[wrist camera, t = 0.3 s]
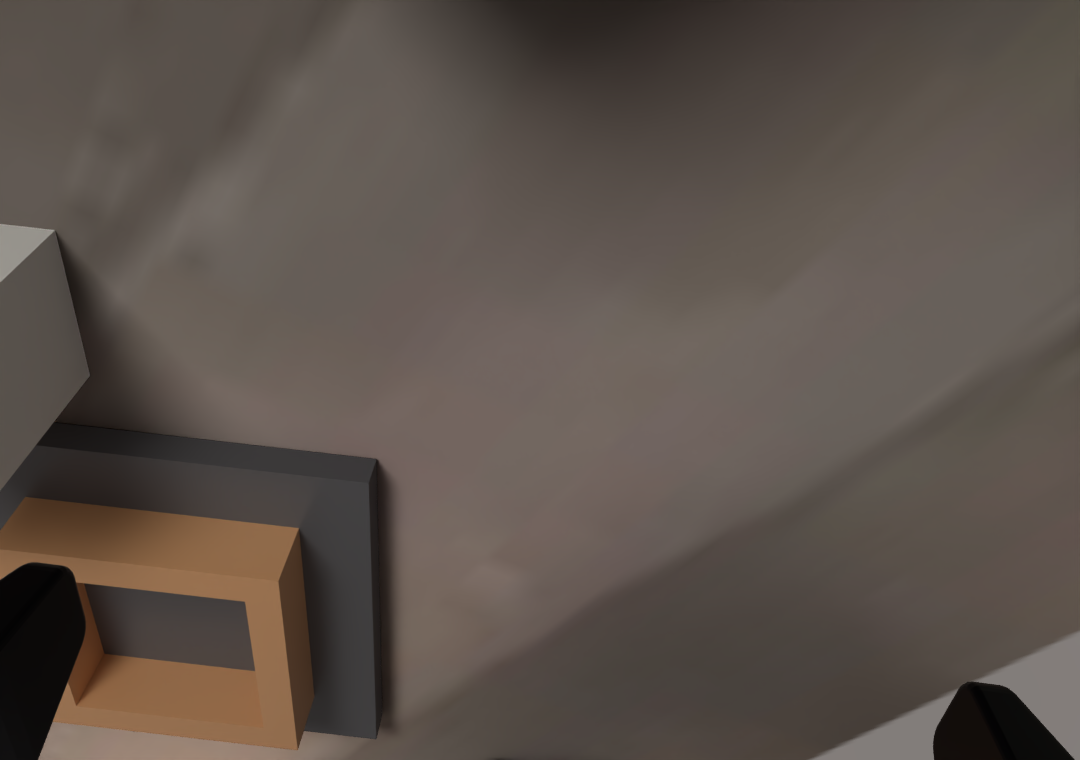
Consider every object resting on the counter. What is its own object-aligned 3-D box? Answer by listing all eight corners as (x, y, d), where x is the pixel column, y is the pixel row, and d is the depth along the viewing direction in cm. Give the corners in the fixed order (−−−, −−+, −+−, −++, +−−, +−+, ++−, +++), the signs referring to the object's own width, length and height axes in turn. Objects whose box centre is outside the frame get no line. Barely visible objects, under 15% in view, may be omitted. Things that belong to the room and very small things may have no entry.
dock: (382, 714, 34) (363, 793, 32) (48, 675, 34) (3, 751, 32) (376, 459, 27) (351, 535, 24) (-46, 411, 27) (-112, 482, 25)
